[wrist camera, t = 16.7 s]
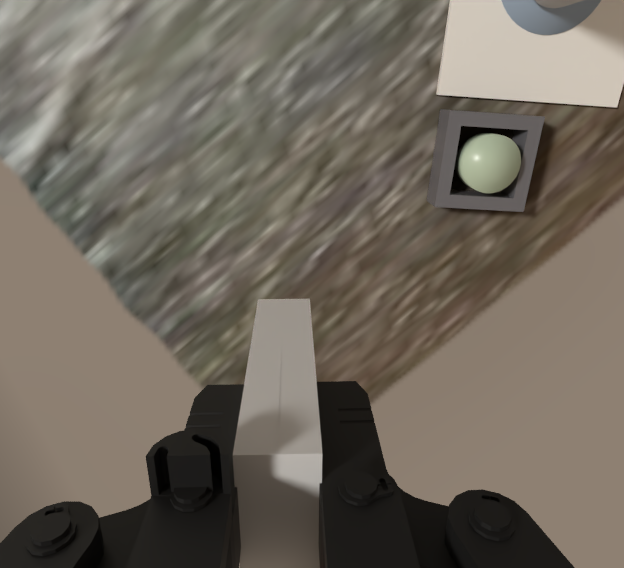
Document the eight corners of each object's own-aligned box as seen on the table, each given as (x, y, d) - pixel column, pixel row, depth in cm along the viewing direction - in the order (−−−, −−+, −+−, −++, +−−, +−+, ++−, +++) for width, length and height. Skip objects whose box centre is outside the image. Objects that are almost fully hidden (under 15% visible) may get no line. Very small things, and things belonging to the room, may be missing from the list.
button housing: (440, 109, 37) (450, 110, 35) (529, 115, 38) (544, 116, 35) (426, 200, 40) (434, 206, 37) (510, 205, 40) (523, 212, 38)
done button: (460, 130, 37) (469, 132, 35) (514, 134, 37) (526, 136, 35) (451, 186, 38) (459, 191, 36) (503, 190, 38) (514, 195, 37)
